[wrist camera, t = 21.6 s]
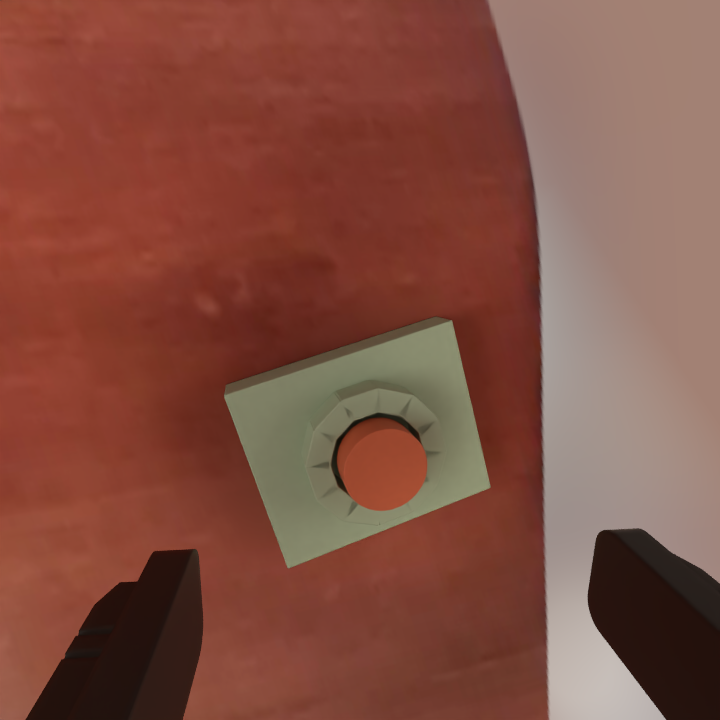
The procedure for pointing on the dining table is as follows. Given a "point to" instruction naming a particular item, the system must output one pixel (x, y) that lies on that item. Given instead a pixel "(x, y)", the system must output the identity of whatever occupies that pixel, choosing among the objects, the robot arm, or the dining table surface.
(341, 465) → the button
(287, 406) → the switch block
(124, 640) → the robot arm
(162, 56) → the dining table surface
